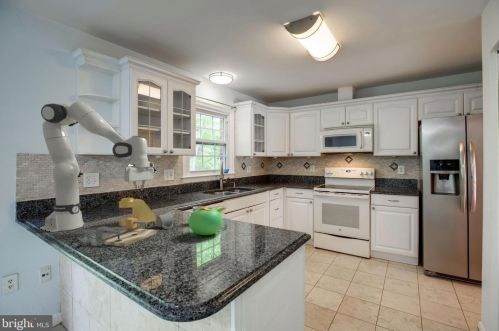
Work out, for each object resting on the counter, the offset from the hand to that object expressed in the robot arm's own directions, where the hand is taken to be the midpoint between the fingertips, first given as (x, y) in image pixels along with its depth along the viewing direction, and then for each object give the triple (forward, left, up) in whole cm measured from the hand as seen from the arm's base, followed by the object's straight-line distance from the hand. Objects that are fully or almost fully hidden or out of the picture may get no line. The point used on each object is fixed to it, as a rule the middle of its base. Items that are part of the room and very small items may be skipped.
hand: (140, 188), depth 140 cm
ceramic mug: (+13, +7, -23) cm, 27 cm away
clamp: (-13, +11, -23) cm, 29 cm away
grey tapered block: (+4, -17, -23) cm, 29 cm away
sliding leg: (+4, -7, -21) cm, 22 cm away
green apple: (+42, 0, -23) cm, 48 cm away
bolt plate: (+9, -16, -23) cm, 30 cm away
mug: (+27, +18, -23) cm, 40 cm away
